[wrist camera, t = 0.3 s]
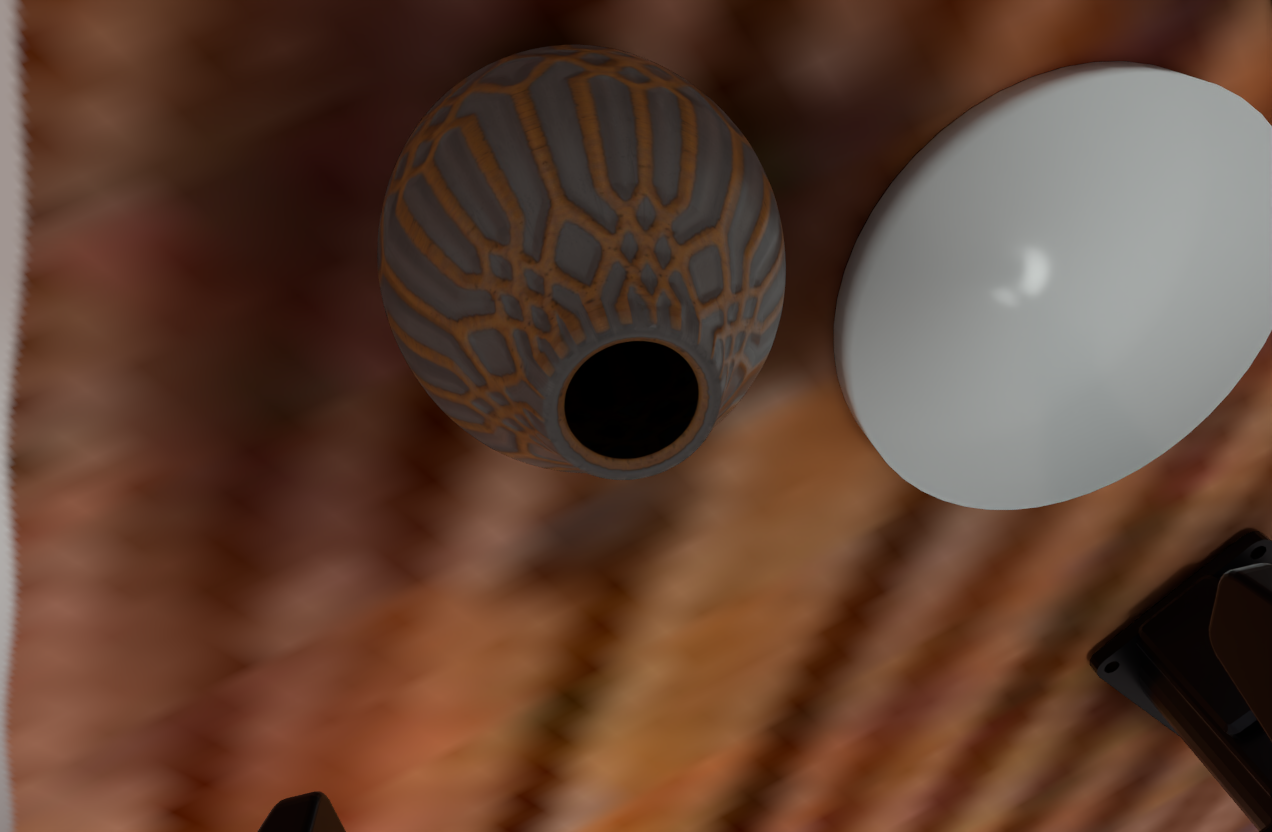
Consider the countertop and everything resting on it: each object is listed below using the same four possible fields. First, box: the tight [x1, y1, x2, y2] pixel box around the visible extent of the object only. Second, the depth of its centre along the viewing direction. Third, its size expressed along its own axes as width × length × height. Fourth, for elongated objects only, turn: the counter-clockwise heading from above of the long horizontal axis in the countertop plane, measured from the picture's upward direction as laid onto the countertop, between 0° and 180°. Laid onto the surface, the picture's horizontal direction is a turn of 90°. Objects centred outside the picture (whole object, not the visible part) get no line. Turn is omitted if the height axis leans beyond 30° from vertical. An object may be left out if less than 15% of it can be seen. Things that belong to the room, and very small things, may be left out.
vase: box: [377, 45, 786, 480], centre depth 16 cm, size 7×7×9 cm
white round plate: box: [834, 61, 1272, 510], centre depth 23 cm, size 11×11×1 cm
